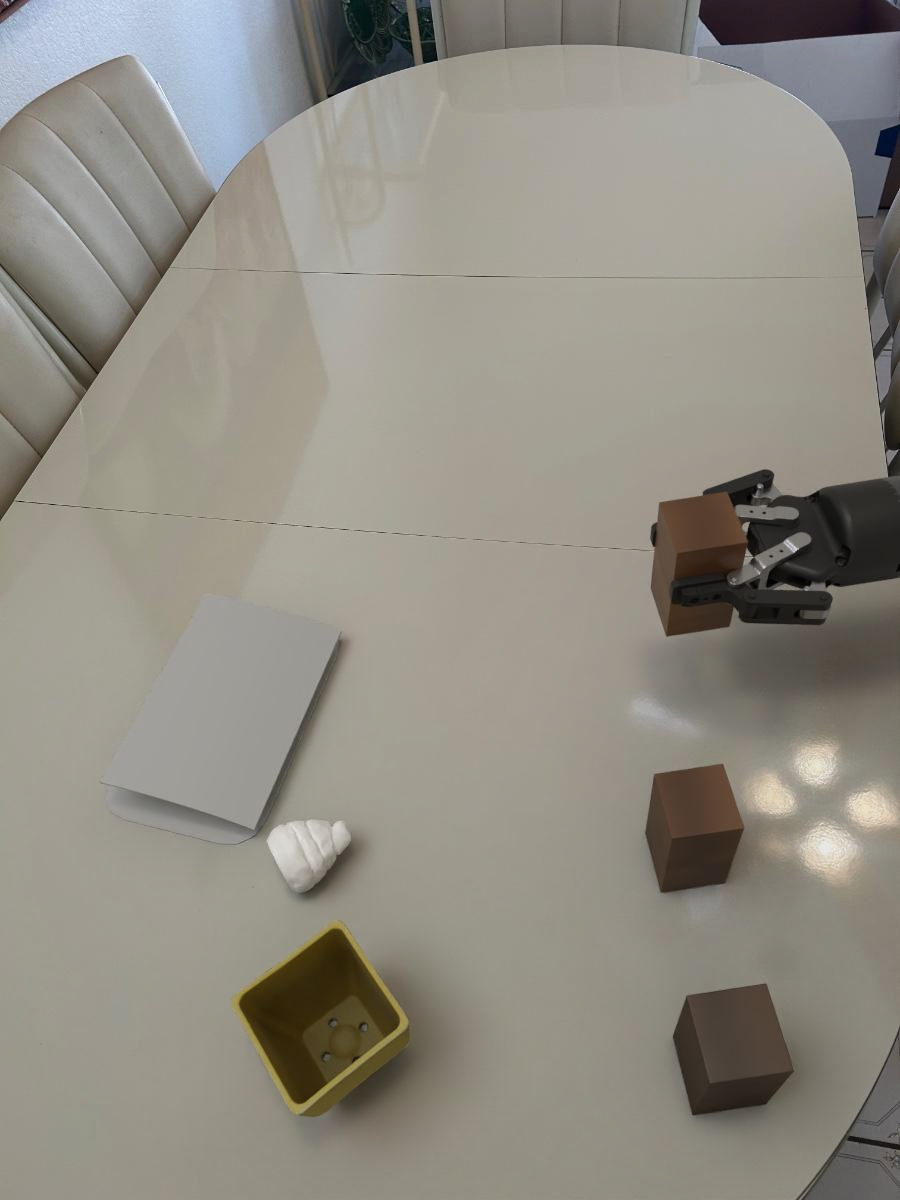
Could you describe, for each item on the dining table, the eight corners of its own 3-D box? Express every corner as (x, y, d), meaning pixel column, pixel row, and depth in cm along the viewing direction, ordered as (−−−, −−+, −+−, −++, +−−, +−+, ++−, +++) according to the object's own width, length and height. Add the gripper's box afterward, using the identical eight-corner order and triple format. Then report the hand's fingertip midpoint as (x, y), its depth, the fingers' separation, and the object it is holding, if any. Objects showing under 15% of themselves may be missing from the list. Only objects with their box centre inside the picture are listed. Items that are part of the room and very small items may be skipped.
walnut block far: (711, 578, 75) (727, 491, 68) (729, 627, 72) (748, 541, 65) (650, 587, 76) (658, 501, 68) (666, 637, 72) (677, 552, 65)
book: (93, 811, 81) (74, 791, 78) (207, 605, 94) (195, 580, 91) (253, 852, 77) (240, 832, 74) (348, 631, 90) (341, 606, 87)
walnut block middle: (707, 823, 74) (723, 763, 67) (725, 883, 71) (744, 828, 64) (644, 832, 75) (653, 773, 67) (660, 893, 71) (671, 838, 64)
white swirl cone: (368, 868, 75) (356, 839, 71) (301, 907, 74) (284, 880, 69) (339, 814, 78) (326, 784, 74) (274, 851, 77) (257, 822, 72)
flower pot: (324, 1142, 63) (293, 1119, 56) (262, 1033, 68) (226, 998, 61) (429, 1056, 66) (412, 1023, 59) (362, 957, 71) (339, 915, 64)
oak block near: (743, 1025, 65) (766, 982, 57) (766, 1104, 62) (794, 1071, 54) (672, 1035, 65) (686, 995, 57) (692, 1115, 62) (709, 1084, 54)
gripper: (863, 426, 71) (640, 461, 71) (947, 568, 62) (692, 608, 62) (840, 495, 77) (635, 527, 77) (915, 635, 68) (682, 671, 68)
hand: (662, 563), depth 69 cm, fingers closed on walnut block far, 5 cm apart
